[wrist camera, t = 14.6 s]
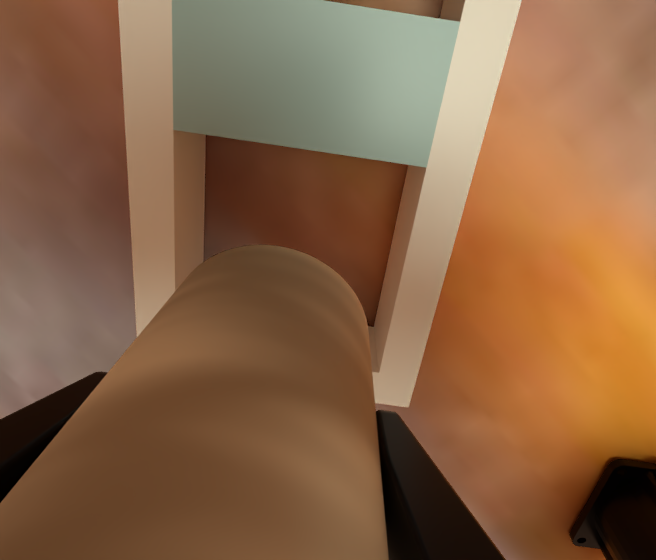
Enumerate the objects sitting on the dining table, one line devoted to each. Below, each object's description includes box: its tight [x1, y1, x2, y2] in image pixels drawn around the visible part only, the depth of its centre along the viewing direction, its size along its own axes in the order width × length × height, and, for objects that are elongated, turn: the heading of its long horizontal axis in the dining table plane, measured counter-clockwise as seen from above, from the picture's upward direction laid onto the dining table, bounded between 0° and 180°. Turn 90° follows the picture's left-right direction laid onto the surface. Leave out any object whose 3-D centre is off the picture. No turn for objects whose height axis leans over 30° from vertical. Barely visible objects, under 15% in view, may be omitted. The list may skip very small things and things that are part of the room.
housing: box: [118, 0, 522, 407], centre depth 14 cm, size 23×11×4 cm, turn 172°
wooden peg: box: [0, 245, 389, 560], centre depth 7 cm, size 5×5×9 cm
